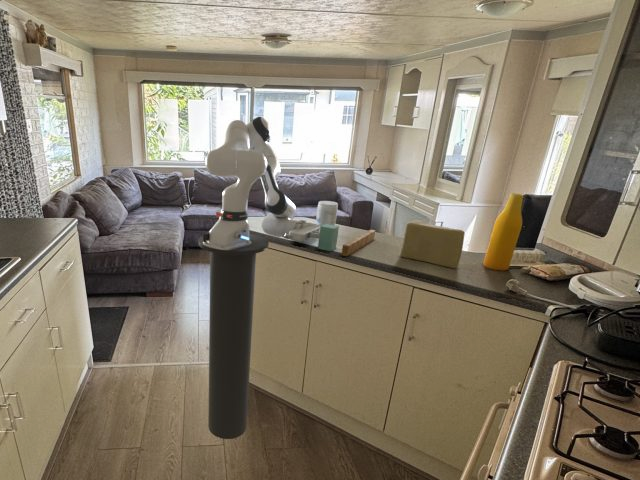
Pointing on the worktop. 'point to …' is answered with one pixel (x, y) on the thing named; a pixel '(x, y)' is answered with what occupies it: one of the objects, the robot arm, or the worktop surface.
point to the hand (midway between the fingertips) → (322, 235)
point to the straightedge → (358, 242)
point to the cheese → (432, 244)
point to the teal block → (328, 237)
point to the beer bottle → (505, 235)
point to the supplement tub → (326, 213)
